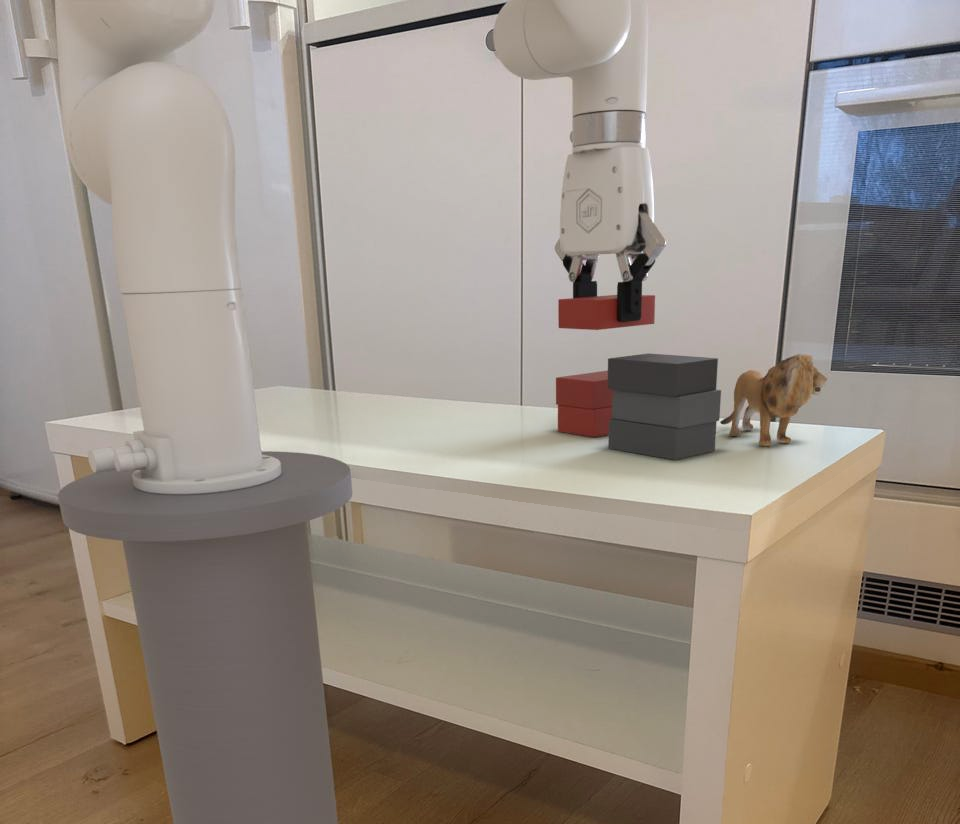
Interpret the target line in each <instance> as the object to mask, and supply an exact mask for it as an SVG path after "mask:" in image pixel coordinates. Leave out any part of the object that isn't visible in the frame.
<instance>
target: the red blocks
mask: <svg viewBox="0 0 960 824" xmlns="http://www.w3.org/2000/svg"><path fill="white" fill-rule="evenodd" d="M555 405H557V432H560V433H567V434H571V435H572V434H573V435H578V436H584V437H591V438H599V437H605V436H609V419H612V390H611V389H608V370H601V371H594V372H586V373H580V374H572V375H564V376H558V377H555Z"/></svg>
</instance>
